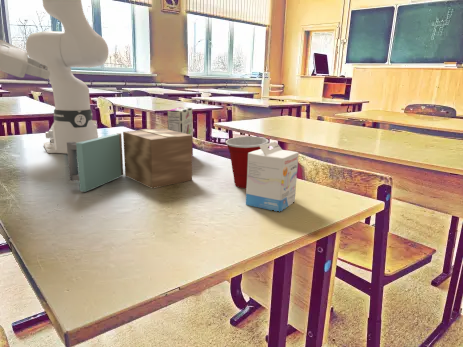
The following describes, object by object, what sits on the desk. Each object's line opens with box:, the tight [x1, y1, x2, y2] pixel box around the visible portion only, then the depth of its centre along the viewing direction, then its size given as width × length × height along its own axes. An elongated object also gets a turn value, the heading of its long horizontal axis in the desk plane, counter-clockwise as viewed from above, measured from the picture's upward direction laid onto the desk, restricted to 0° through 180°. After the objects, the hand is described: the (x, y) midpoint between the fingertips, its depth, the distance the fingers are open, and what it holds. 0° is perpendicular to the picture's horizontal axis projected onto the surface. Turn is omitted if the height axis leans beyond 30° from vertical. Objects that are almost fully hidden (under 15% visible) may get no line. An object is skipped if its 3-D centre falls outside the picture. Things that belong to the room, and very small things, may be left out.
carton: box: [122, 128, 193, 189], centre depth 95 cm, size 14×12×12 cm
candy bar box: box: [166, 106, 194, 156], centre depth 117 cm, size 11×5×16 cm, turn 168°
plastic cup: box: [225, 135, 270, 189], centre depth 91 cm, size 11×11×12 cm
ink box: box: [245, 141, 300, 213], centre depth 78 cm, size 9×8×13 cm
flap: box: [66, 132, 124, 193], centre depth 89 cm, size 16×6×11 cm, turn 162°
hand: (48, 72), depth 84 cm, fingers open, 8 cm apart
